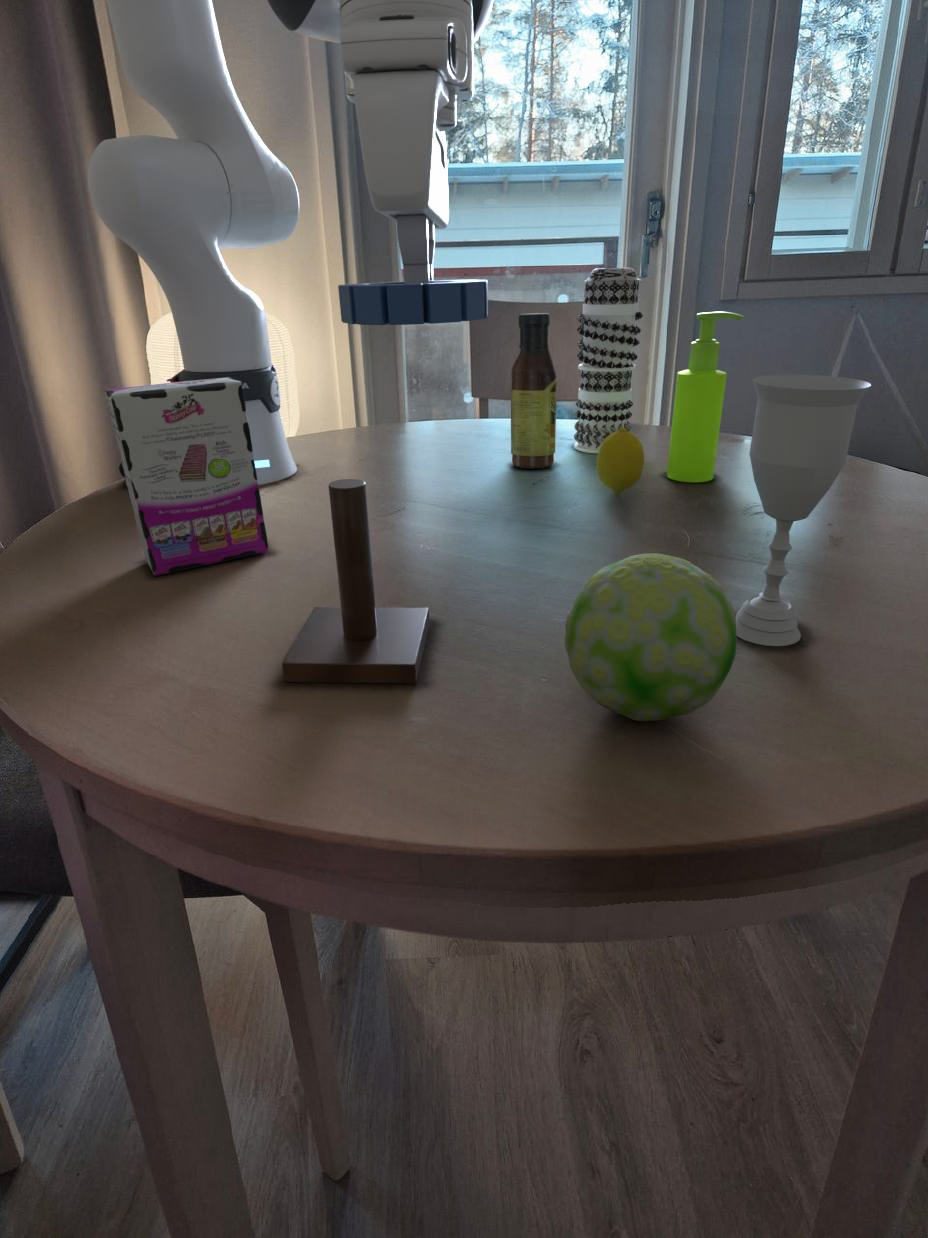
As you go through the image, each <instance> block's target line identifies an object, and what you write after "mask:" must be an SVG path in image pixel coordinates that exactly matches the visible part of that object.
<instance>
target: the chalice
mask: <svg viewBox="0 0 928 1238" xmlns="http://www.w3.org/2000/svg"><path fill="white" fill-rule="evenodd" d="M752 383H753V386H754V389H755V392H756V395H757V402H756V409H755V416H754V422H753V428H752V435H751V442H750V448H749V454H748V455H749V460H750V465H751V471H752V477H753V481H754V484H755V487H756V490H757V493H758V496H759V499H760V502H761V505H762V508H763V511H764V514H765V515H766V516H768V517H771V518H772V519H773V520H775V532H774V534H773V537H772V540H771V541H770V542H769V543H768V544H767V546H768V548H769V550H770V559H769V562H768V564H766V566H763V567H762V571H763V573H764V574H765V580H766V585H765V587H764V589H763V591H762V592H760V593H759V595H754V596H751V597H750V598H748V599H747V600H745V601H744V602H743V603H742V605H741V608H740V609H739V610H738V611H737V612H736V613H735V619H736V636H737V638H740V639H741V640H744V641H746V642H748V643H752V644H756V645H760V646H768V647H785V646H790V645H794V644H796V643H797V642H799V641H800V640H801V637H802V634H801V632H800V629H799V628H798V625H799V622H798V620H797V617H796V611H795V609H794V607H793V606H792V604H791V602H789V601H788V600H786V599H784V598H783V596H782V595H781V593H780V585H781V583H782V581H783V579H784V577H786V576H787V575H789V573H790V572H789V570H788V569H787V568H786V563H785V559H786V557H787V555H788V553H789V552H790V551H791V550H792V549H793V546H792V545H791V542H790V541H791V540H790V539H791V538H790V531H791V529H792V526H793V524H794V522H798V521H802V520H803V521H804V520H805V519H807V518H808V517H809V516H810V514H811V513H812V512H813V511H814V510H815V508H816V507H817V506H818V505H819V503H820V502H821V501H822V499H823V498H824V497H825V495H826V494H827V493H828V492H829V491H830V489H831V488H832V486H833V484H834V482H835V481H836V479H837V478H838V476H839V474H840V473H841V471H842V469H843V468H844V466H845V464H846V462H847V456H848V452H849V449H850V448H849V447H850V443H851V438H852V433H853V429H854V424H855V418H856V415H857V414H856V413H857V410H858V405H859V402H860V401H862V398H863V397H864V396H865V394H866V393H868V391H869V389H870V388H871V387H872V384H871V382H868V381H866V380H861V379H856V378H850V377H842V376H833V375H831V376H830V375H821V374H820V375H819V374H818V375H817V374H771V375H762V376H756V377H754V378H753V379H752Z"/></svg>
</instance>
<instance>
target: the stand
mask: <svg viewBox="0 0 928 1238" xmlns="http://www.w3.org/2000/svg"><path fill="white" fill-rule="evenodd" d="M366 485H367V484H366V482H365V481H364V480H362V479H357V478H346V479H345V478H343V479H336V480H333V481H330V482H329V483H328V495H329V504H330V505H329V506H330V515H331V522H332V523H331V524H332V533H333V543H334V544H333V545H334V552H335V554H334V555H335V562H336V572H337V582H338V591H339V593H338V594H339V601H340V606H314V608H313V609H312V610H311V613H310V614H309V616H308V617H307V619H306V621H305V623H304V625H303V626H302V628H301V630H300V632H299V633H298V635H297V636H296V638H295V640H294V641H293V644H292V645H291V647H290V649H289V650H288V652H287V654H286V655H285V658H284V659H283V660H282V662H281V665H282V671H283V672H282V673H283V680H284V682H285V683H330V684H331V683H333V684H337V683H339V684H405V685H406V684H409V685H410V684H412V685H413V684H417V683H418V682H417V681H418V677H419V672H420V667H421V665H422V660H423V655H424V651H425V646H426V642H427V637H428V632H429V630H430V629H429V628H430V608H429V607H385V606H384V607H383V606H382V607H379V606H377V607H376V599H375V598H376V597H375V587H374V586H375V584H374V574H373V572H374V571H373V561H372V549H371V548H372V547H371V536H370V524H369V522H370V521H369V510H368V497H367V486H366Z"/></svg>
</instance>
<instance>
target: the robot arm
mask: <svg viewBox="0 0 928 1238" xmlns="http://www.w3.org/2000/svg"><path fill="white" fill-rule="evenodd" d="M105 1H106V6H107V11H108V14H109V19H110V22H111V27H112V31H113V35H114V39H115V43H116V47H117V51H118V56H119V61H120V64H121V68H122V71H123V74H124V75H125V78H126V80H127V82H128V84H129V86H130V87H131V88H132V90H133V91H134V92H135V93H136V94H137V96H139V97H140V98H141V99H142V100H144V102H146V103H147V104H149V106H151V107H152V108H154V110H156V111H157V112H158V113H159V114H160V115H161V116H162V118H163V119H164V120H165V122H167V124H168V125H169V126H170V128H171V129H172V131H173V133H174V134H175V136H176V138H173V137H166V136H158V135H150V134H138V135H127V136H121V137H114V138H107V139H104V140H102V141H101V142H100V143H99V144H98V145H97V146H96V148H95V149H94V151H93V152H92V155H91V158H90V161H89V165H88V170H87V185H88V186H87V187H88V191H89V197H90V200H91V202H92V205H93V207H94V210H95V212H96V213H97V215H98V216H99V218H100V220H101V221H102V223H103V224H104V226H106V228H107V229H108V230H109V231H110V232H111V233H112V235H114V236H115V237H117V238H118V239H120V240H121V241H122V242H124V243H125V244H126V245H127V246H128V247H130V248H131V249H132V250H133V251H134V252H135V253H136V255H138V256H139V257H140V258H141V260H143V262H144V263H145V264H146V266H147V267H148V269H149V270H150V271H151V273H152V275H153V276H154V277H155V279H156V280H157V282H158V283H159V286H160V287H161V289H162V291H163V293H164V295H165V297H166V300H167V302H168V305H169V309H170V311H171V315H172V319H173V323H174V326H175V332H176V335H177V340H178V344H179V350H180V354H181V359H182V365H183V369H182V370H181V371H179V372H178V373H176V374H174V375H173V376H172V377H170V378H168V379H166V382H169V383H173V382H183V381H193V380H204V379H216V378H227V377H231V378H232V379H235V380H237V381H240V382H242V388H243V393H244V399H245V406H246V413H247V418H248V424H249V429H250V436H251V442H252V449H253V455H254V462H255V468H256V474H257V479H258V485H264V484H269V483H273V482H277V481H281V480H284V479H286V478H289V477H292V476H293V475H294V474H296V473H297V471H298V467H297V464H296V462H295V460H294V458H293V455H292V453H291V450H290V446H289V444H288V440H287V436H286V434H285V430H284V429H285V428H284V425H283V421H282V417H281V413H280V408H281V392H280V391H281V390H280V383H279V379H278V375H277V370H276V369H277V368H276V366H275V365H274V364H273V363H272V362H273V361H272V356H271V348H270V341H269V332H268V325H267V317H266V309H265V306H264V305H263V302H262V300H261V299H260V297H259V296H258V295H257V294H256V293H255V292H254V291H253V290H251V289H250V288H248V287H246V286H245V285H243V284H241V283H240V282H238V281H237V279H236V278H235V277H234V276H233V274H231V271H230V270H229V268H228V267H227V265H226V262H225V260H224V258H223V254H222V251H221V249H243V250H244V249H245V250H247V249H252V250H254V249H259V248H263V247H268V246H271V245H274V244H275V245H276V244H278V243H282V242H285V241H286V240H287V239H289V238H290V237H291V236H292V234H293V233H294V231H295V229H296V227H297V224H298V220H299V216H300V206H301V205H300V196H299V191H298V187H297V184H296V181H295V179H294V177H293V174H292V172H291V171H290V170H289V168H288V167H287V166H286V165H285V163H283V162H282V161H281V159H279V157H277V156H276V155H275V154H274V153H273V152H272V151H271V150H270V149H269V147H268V146H267V145H266V143H265V142H264V141H263V140H262V138H261V137H260V135H259V134H258V132H257V130H256V129H255V127H254V126H253V124H252V123H251V122H252V121H251V120H250V119H249V117H248V116H247V115H248V114H247V113H246V111H245V109H244V107H243V106H242V103H241V100H240V99H239V96H238V95H237V93H236V90H235V87H234V85H233V82H232V79H231V76H230V73H229V70H228V67H227V63H226V59H225V58H226V57H225V55H224V50H223V46H222V40H221V37H220V33H219V28H218V23H217V18H216V14H215V9H214V5H213V0H105ZM266 1H267V3H268V5H269V6H270V8H271V10H272V12H273V13H274V15H275V16H276V17H277V19H278V20H279V21H280V22H281V24H282V25H283V26H284V28H286V29H287V30H288V31H291V32H295V33H297V34H299V35H301V36H304V37H307V38H310V39H314V40H320V41H324V42H331V43H335V44H339V51H340V60H341V66H342V70H343V71H344V84H345V85H344V86H345V95H346V96H345V97H346V98H347V100H348V101H349V102H351V103H353V104H354V105H355V112H356V121H357V126H358V134H359V141H360V148H361V155H362V163H363V168H364V175H365V179H366V185H367V189H368V194H369V198H370V202H371V204H372V207H373V209H374V211H376V212H378V213H380V214H381V215H383V216H385V217H387V218H389V219H390V220H392V221H394V222H396V232H397V233H396V234H397V242H398V247H399V252H400V258H401V262H402V269H403V271H402V272H403V282H404V284H418V283H430V281H434V280H435V279H434V275H435V274H434V262H435V261H434V260H435V248H436V230H443V229H446V228H447V227H448V225H449V218H450V207H449V206H450V205H449V204H450V203H449V202H450V201H449V182H448V181H449V180H448V178H449V177H448V159H447V157H448V156H447V155H448V154H447V140H446V132H447V131H450V130H452V129H454V128H455V127H456V126H457V125H458V124H457V123H458V122H457V116H458V115H457V106H459V105H463V104H464V103H467V102H468V101H470V100H471V99H472V98H474V94H475V78H474V77H475V75H474V72H475V71H474V69H475V68H474V44H475V43H476V42H477V40H478V39H479V37H480V35H481V34H482V32H483V31H484V29H485V27H486V25H487V23H488V21H489V18H490V15H491V12H492V9H493V5H494V1H495V0H266ZM118 471H119V473H120V475H121V476H122V477H123V478H124V479H126V478H125V473H124V469H123V465H122V461H121V462H120V463H119V466H118ZM125 485H126V487H127V488H128V486H127V482H126V481H125Z"/></svg>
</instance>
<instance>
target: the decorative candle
mask: <svg viewBox="0 0 928 1238" xmlns="http://www.w3.org/2000/svg"><path fill="white" fill-rule="evenodd" d="M640 281H641V278H639V277H638V275H637V273H636V271H635V269H634V268H632V267H597V268H594V269H593V270H592V271H591V272H590V273H589V276H588V277H587V279H585V280H584V287H585V288H584V295H583V297H584V301H583V303H582V312H580V313H579V314H578V316H577V321H578V322H579V323H580V325H579V326H578V327H577V328H576V331H577V332H578V334H579V335H580V336H581V339H579V340H578V342H577V344H576V346H577V347H578V349H579V352H578V353H577V354H576V357H577V359H578V361H580V362H581V363H579V364H578V366H577V370H580V379H579V384H580V385H579V388H578V392H577V393H578V395H577V396H578V397H577V398H578V399H577V401H575V406H576V407H577V408H579V409H578V410H577V411H576V412H575V417H576V418H578V420H577V421H576V422H575V423H574V430H575V431H576V432H575V433H574V435H573V439H574V440H575V441H576V442H575V443H574V445H573V448H574V449H575V450H576V451H579V452H582V453H589V454H598V452H599V449H600V446H601V444H602V442H603V441H604V439H605V438H606V437H607V436H609V435H610V434H611V433H614V432H616V431H618V430H619V429H620V428H626V430H627V431H628V432H630V431H631V429H632V424H631V423H630V422H629V419H630V418H631V417H633V413H632V412H631V411H630V410H629V409H631V408H632V407H633V406H634V402H633V401H632V400H631V399H632V390H633V388H631V387H632V375H633V370H635V369H636V363H635V364H634V363H633V362H634V361H636V360H637V359H638V357H639V356H638V354H636V353H635V352H634V351H633V350H634V348H635V347H636V346H638V345H639V344H640V343H641V341H640V340H639V339H638V338H637V337H636V336H637V335H639V334H640V333H641V331H642V329H641V327H639V326H638V324H636V322H637V321H640V319H642V318H643V317H644V314H643V313H642V312H641V311H639V302H638V301H639V299H638V298H639V288H640V287H639V285H640ZM635 324H636V325H635Z"/></svg>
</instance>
